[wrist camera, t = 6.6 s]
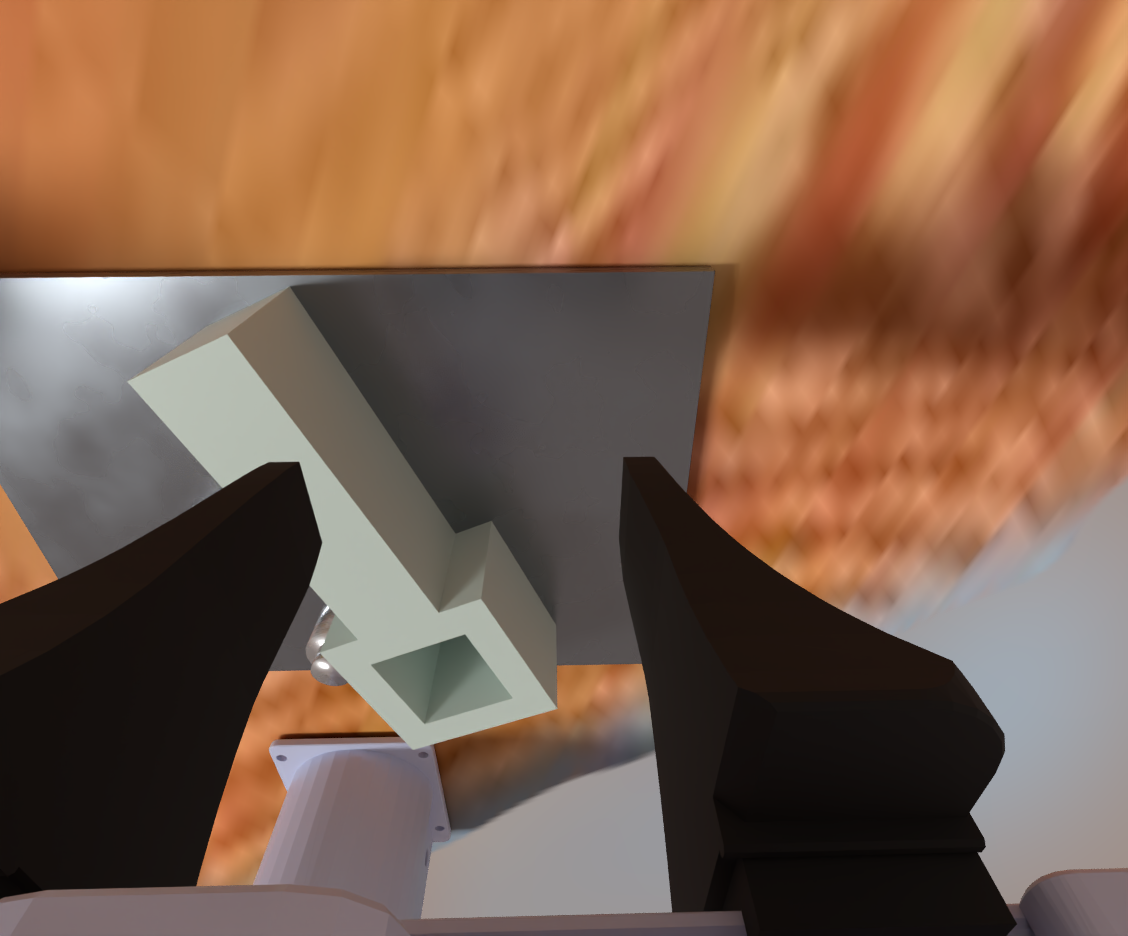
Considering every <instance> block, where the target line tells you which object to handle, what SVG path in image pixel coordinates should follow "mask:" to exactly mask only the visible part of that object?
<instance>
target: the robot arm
mask: <svg viewBox="0 0 1128 936" xmlns="http://www.w3.org/2000/svg"><path fill="white" fill-rule="evenodd" d="M321 546H322V539H321V536H320V532H319V529H318V525H317V522H316V518H315V515H314V511H313V508H312V504H311V501H310V497H309V494H308V490H307V487H306V483H305V480H304V476H303V472H302V469H301V465H300V462H268V463H266V464H264V465H262V466H259V467H258V468H256V469H254V470H252V471H250V472H249V473H247V474H245V475H243V476H242V477H240V478H238V479H237V480H235V481H234V482H232V483H230V484H229V485H227V486H225V487H224V488H222V489H221V490H219V491H217V492H216V493H214V494H213V495H211V496H209V497H208V498H206V499H204V500H203V501H201V502H200V503H198V504H196V505H195V506H193V507H191V508H190V509H188V510H187V511H185V512H183V513H182V514H180V515H178V516H177V517H175V518H173V519H172V520H170V521H168V522H166V523H165V524H163V525H161V526H159V527H158V528H156V529H154V530H152V531H151V532H149V533H147V534H145V535H144V536H142V537H140V538H138V539H137V540H135V541H133V542H132V543H130V544H128V545H126V546H124V547H123V548H121V549H119V550H117V551H115V552H113V553H111V554H109V555H107V556H105V557H103V558H102V559H100V560H98V561H96V562H94V563H92V564H89V565H87V566H85V567H83V568H81V569H79V570H77V571H75V572H73V573H71V574H69V575H67V576H64V577H62V578H60V579H58V580H56V581H54V582H51V583H49V584H47V585H45V586H42V587H40V588H37V589H35V590H32V591H30V592H28V593H25V594H23V595H20V596H18V597H16V598H13V599H11V600H8V601H6V602H4V603H1V604H0V936H1128V868H1120V869H1080V870H1064V871H1057V872H1053V873H1050V874H1048V875H1045V876H1042V877H1040V878H1039V879H1038V880H1036V881H1034V882H1033V883H1032V884H1031V885H1030V886H1029V887H1028V888H1027V890H1026V891H1025V893H1024V895H1023V896H1022V898H1021V901H1020V904H1006V903H1005V901H1004V899H1003V898H1002V896H1001V894H1000V892H999V891H998V889H997V887H996V885H995V883H994V881H993V880H992V878H991V876H990V874H989V872H988V871H987V869H986V867H985V865H984V864H983V862H982V860H981V858H980V856H979V855H978V853H977V852H982V851H983V850H984V848H985V847H986V846H985V840H984V837H983V835H982V834H981V832H980V830H979V829H978V827H977V825H976V823H975V822H974V820H973V818H972V816H971V815H970V813H969V812H970V811H971V809H972V808H973V806H974V805H975V803H976V802H977V800H978V799H979V797H980V796H981V794H982V793H983V791H984V790H985V788H986V787H987V785H988V784H989V782H990V781H991V779H992V778H993V776H994V775H995V773H996V771H997V769H998V766H999V764H1000V762H1001V759H1002V757H1003V755H1004V752H1005V738H1004V733H1003V732H1002V730H1001V728H1000V727H999V726H998V724H997V722H996V720H995V719H994V718H993V716H992V715H991V713H990V712H989V710H988V709H987V707H986V706H985V704H984V703H983V702H982V700H981V698H980V697H979V695H978V694H977V692H976V691H975V690H974V688H973V687H972V686H971V684H970V683H969V682H968V680H967V679H966V678H965V676H964V675H963V674H962V672H961V671H960V670H959V669H958V668H957V666H956V665H955V664H954V663H953V661H951V660H949V659H946V658H944V657H942V656H939V655H937V654H935V653H933V652H930V651H928V650H925V649H923V648H921V647H918V646H916V645H914V644H911V643H909V642H907V641H904V640H902V639H900V638H897V637H895V636H892V635H890V634H888V633H886V632H883V631H881V630H879V629H877V628H875V627H873V626H871V625H869V624H867V623H865V622H863V621H861V620H859V619H857V618H855V617H853V616H851V615H849V614H847V613H845V612H843V611H842V610H840V609H838V608H836V607H834V606H832V605H831V604H829V603H827V602H825V601H823V600H822V599H820V598H818V597H817V596H815V595H813V594H812V593H810V592H808V591H807V590H805V589H804V588H802V587H800V586H799V585H797V584H795V583H794V582H792V581H790V580H789V579H787V578H786V577H784V576H783V575H781V574H780V573H778V572H777V571H775V570H774V569H773V568H771V567H770V566H769V565H767V564H766V563H765V562H763V561H762V560H760V559H759V558H758V557H756V556H755V555H754V554H752V553H751V552H750V551H748V550H747V549H746V548H745V547H743V546H742V545H741V544H740V543H738V542H737V541H736V540H735V539H734V538H732V537H731V536H730V535H729V534H728V533H727V532H726V531H725V530H723V529H722V528H721V527H720V526H719V525H718V524H717V523H716V522H715V521H713V520H712V519H711V518H710V517H709V516H708V515H707V514H706V513H705V512H704V511H703V510H702V509H701V508H700V507H699V505H698V504H697V503H696V502H695V501H694V500H693V499H692V498H691V497H690V496H689V495H688V494H687V493H686V492H685V491H684V490H683V488H682V487H681V486H680V485H679V484H678V483H677V482H676V481H675V480H674V478H673V477H672V476H671V475H670V474H669V473H668V471H667V470H666V469H665V468H664V467H663V466H662V464H661V463H660V462H659V461H658V460H657V459H656V458H655V457H623V472H622V489H621V507H620V525H619V546H620V556H621V566H622V576H623V583H624V587H625V592H626V596H627V601H628V605H629V609H630V614H631V618H632V622H633V627H634V631H635V635H636V640H637V644H638V648H639V653H640V657H641V661H642V666H643V670H644V674H645V680H646V685H647V690H648V696H649V703H650V711H651V719H652V727H653V735H654V743H655V752H656V759H657V768H658V776H659V786H660V794H661V804H662V814H663V823H664V832H665V842H666V852H667V861H668V872H669V881H670V892H671V903H672V913H635V914H596V915H558V916H518V917H478V918H439V919H421V913H422V906H423V900H424V893H425V887H426V880H427V874H428V867H429V861H430V855H431V848H432V842H445V841H448V840H449V839H450V836H451V828H450V823H449V818H448V813H447V808H446V803H445V798H444V793H443V788H442V783H441V778H440V773H439V769H438V764H437V759H436V754H435V749H434V744H432V745H429V746H425V747H422V748H418V749H415V750H413V749H412V748H411V747H410V746H409V745H408V744H407V743H406V742H405V741H404V740H403V739H402V738H401V737H365V738H318V739H278V740H275V741H273V742H272V743H271V746H270V748H269V752H270V754H271V757H272V759H273V761H274V763H275V765H276V768H277V770H278V772H279V774H280V776H281V779H282V781H283V783H284V785H285V788H286V790H287V795H286V797H285V800H284V803H283V805H282V808H281V811H280V814H279V816H278V819H277V822H276V824H275V827H274V830H273V832H272V835H271V838H270V840H269V843H268V846H267V848H266V851H265V854H264V857H263V859H262V862H261V865H260V867H259V870H258V873H257V875H256V878H255V881H254V883H253V885H234V886H196V885H197V881H198V877H199V873H200V869H201V866H202V862H203V859H204V856H205V852H206V849H207V845H208V842H209V838H210V835H211V831H212V828H213V824H214V821H215V818H216V814H217V811H218V807H219V804H220V801H221V798H222V795H223V792H224V789H225V786H226V783H227V779H228V776H229V773H230V770H231V767H232V764H233V761H234V758H235V755H236V752H237V749H238V746H239V743H240V741H241V738H242V735H243V732H244V729H245V727H246V724H247V721H248V718H249V715H250V713H251V710H252V707H253V704H254V702H255V700H256V697H257V695H258V693H259V691H260V688H261V686H262V684H263V681H264V679H265V677H266V675H267V673H268V671H269V669H270V667H271V665H272V663H273V661H274V659H275V657H276V655H277V653H278V651H279V649H280V647H281V644H282V642H283V640H284V638H285V636H286V634H287V632H288V630H289V628H290V626H291V624H292V622H293V620H294V618H295V616H296V614H297V611H298V609H299V607H300V605H301V603H302V601H303V599H304V597H305V594H306V592H307V590H308V588H309V585H310V582H311V579H312V576H313V573H314V570H315V567H316V564H317V560H318V557H319V553H320V550H321Z"/></svg>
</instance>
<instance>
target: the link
mask: <svg viewBox="0 0 1128 936" xmlns="http://www.w3.org/2000/svg"><path fill="white" fill-rule="evenodd" d="M127 382H128V383H129V384H130V385H131V386H132V388H133V389H134V390H135V391H136V392H137V393H138V394H139V395H140V396H141V398H142V399H143V400H144V401H145V402H146V403H147V404H148V405H149V407H150V408H151V409H152V410H153V411H154V412H155V413H156V414H157V416H158V417H159V418H160V419H161V420H162V421H163V422H164V423H165V424H166V426H167V427H168V428H169V429H170V430H171V431H172V432H173V433H174V435H175V436H176V437H177V438H178V439H179V440H180V441H181V442H182V443H183V445H184V446H185V447H186V448H187V449H188V450H189V451H190V452H191V454H192V455H193V456H194V457H195V458H196V459H197V460H198V461H199V462H200V464H201V465H202V466H203V467H204V468H205V469H206V470H207V471H208V473H209V474H210V475H211V476H212V477H213V478H214V479H215V480H216V481H217V483H218V484H219V485H220V486H221V487H222V488H224V487H225V486H227V485H229V484H230V483H232V482H234V481H235V480H237V479H238V478H240V477H242V476H243V475H245V474H247V473H249V472H250V471H252V470H254V469H256V468H258V467H259V466H262V465H264V464H266V463H268V462H300V465H301V469H302V472H303V476H304V480H305V483H306V487H307V490H308V494H309V497H310V501H311V504H312V508H313V511H314V515H315V518H316V522H317V525H318V529H319V532H320V536H321V539H322V546H321V550H320V553H319V557H318V560H317V564H316V567H315V570H314V573H313V576H312V579H311V582H310V585H309V586H310V587H311V588H312V589H313V590H314V591H315V592H316V593H317V594H318V596H319V597H320V598H321V599H322V600H323V601H324V602H325V603H326V605H327V606H328V607H329V608H330V609H331V610H332V611H333V612H334V613H335V616H334V618H333V621H332V623H331V626H330V628H329V631H328V633H327V636H326V638H325V641H324V643H323V645H322V648H321V650H320V654H321V655H322V656H323V657H324V658H325V659H326V660H327V661H328V662H329V663H330V664H331V665H332V666H333V667H334V668H335V669H336V670H337V671H338V672H339V674H340V675H341V676H342V677H343V678H344V679H345V680H346V681H347V682H348V683H349V684H350V685H351V686H352V687H353V688H354V689H355V690H356V691H357V692H358V693H359V694H360V695H361V696H362V697H363V698H364V700H365V701H366V702H367V703H368V704H369V705H370V706H371V707H372V708H373V709H374V710H375V711H376V712H377V713H378V714H379V715H380V716H381V717H382V718H383V719H384V720H385V721H386V722H387V723H388V724H389V726H390V727H391V728H392V729H393V730H394V731H395V732H396V733H397V734H398V735H399V736H400V737H401V738H402V739H403V740H404V741H405V742H406V743H407V744H408V745H409V746H410V747H411V748H412V749H413V750H415V749H418V748H422V747H425V746H429V745H432V744H436V743H439V742H443V741H446V740H450V739H453V738H457V737H460V736H464V735H467V734H471V733H474V732H478V731H481V730H485V729H488V728H492V727H495V726H499V725H502V724H506V723H509V722H513V721H516V720H520V719H523V718H527V717H530V716H534V715H537V714H541V713H544V712H548V711H551V710H555V709H557V650H556V624H555V622H554V621H553V619H552V618H551V616H550V614H549V613H548V611H547V610H546V608H545V606H544V605H543V603H542V601H541V600H540V598H539V597H538V595H537V593H536V592H535V590H534V589H533V587H532V585H531V584H530V582H529V580H528V579H527V577H526V576H525V574H524V572H523V571H522V569H521V568H520V566H519V564H518V563H517V561H516V560H515V558H514V556H513V555H512V553H511V551H510V550H509V548H508V547H507V545H506V543H505V542H504V540H503V539H502V537H501V535H500V534H499V532H498V530H497V529H496V527H495V526H494V524H493V522H492V521H490V522H487V523H484V524H481V525H478V526H476V527H473V528H470V529H467V530H465V531H462V532H459V533H456V534H455V532H454V531H453V529H452V528H451V526H450V525H449V523H448V522H447V520H446V519H445V517H444V516H443V514H442V513H441V511H440V510H439V508H438V507H437V505H436V504H435V502H434V501H433V499H432V498H431V496H430V495H429V494H428V492H427V491H426V489H425V488H424V486H423V485H422V483H421V482H420V480H419V479H418V477H417V476H416V474H415V473H414V471H413V470H412V468H411V467H410V465H409V464H408V462H407V461H406V459H405V458H404V456H403V455H402V453H401V452H400V450H399V449H398V447H397V446H396V444H395V443H394V441H393V440H392V438H391V437H390V435H389V434H388V432H387V431H386V429H385V428H384V426H383V425H382V423H381V422H380V420H379V419H378V417H377V416H376V414H375V413H374V412H373V410H372V409H371V407H370V406H369V404H368V403H367V401H366V400H365V398H364V397H363V395H362V394H361V392H360V391H359V389H358V388H357V386H356V385H355V383H354V382H353V380H352V379H351V377H350V376H349V374H348V373H347V371H346V370H345V368H344V367H343V365H342V364H341V362H340V361H339V359H338V358H337V356H336V355H335V353H334V352H333V350H332V349H331V347H330V346H329V344H328V343H327V341H326V340H325V338H324V337H323V335H322V334H321V332H320V331H319V330H318V328H317V327H316V325H315V324H314V322H313V321H312V319H311V318H310V316H309V315H308V313H307V312H306V310H305V309H304V307H303V306H302V304H301V303H300V301H299V300H298V298H297V297H296V295H295V294H294V292H293V291H292V289H291V288H290V286H289V287H287V288H285V289H283V290H281V291H279V292H277V293H275V294H273V295H271V296H269V297H266V298H264V299H262V300H260V301H258V302H256V303H254V304H252V305H250V306H248V307H246V308H244V309H241V310H239V311H237V312H235V313H233V314H231V315H229V316H227V317H225V318H223V319H221V320H219V321H217V322H214V323H212V324H210V325H208V326H206V327H205V328H203V329H202V330H200V331H199V332H198V333H196V334H195V335H193V336H192V337H190V338H189V339H187V340H186V341H185V342H183V343H182V344H180V345H179V346H177V347H176V348H175V349H173V350H172V351H170V352H169V353H167V354H166V355H164V356H163V357H162V358H160V359H159V360H157V361H156V362H154V363H153V364H152V365H150V366H149V367H147V368H146V369H144V370H143V371H141V372H140V373H139V374H137V375H136V376H134V377H133V378H131V379H130V380H129V381H127Z"/></svg>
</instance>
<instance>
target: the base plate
mask: <svg viewBox="0 0 1128 936" xmlns="http://www.w3.org/2000/svg"><path fill="white" fill-rule="evenodd" d="M714 275H715V271H714V270H713V269H712V267H711V266H666V267H563V268H460V269H357V270H254V271H151V272H48V273H0V484H1V486H2V488H3V489H4V491H5V493H6V494H7V496H8V497H9V499H10V501H11V502H12V504H13V506H14V507H15V509H16V510H17V512H18V514H19V515H20V517H21V519H22V520H23V522H24V524H25V525H26V527H27V528H28V530H29V532H30V533H31V535H32V537H33V538H34V540H35V542H36V543H37V545H38V546H39V548H40V550H41V551H42V553H43V555H44V556H45V558H46V559H47V561H48V563H49V564H50V566H51V568H52V569H53V571H54V573H55V574H56V576H57V577H58V579H60V578H62V577H64V576H67V575H69V574H71V573H73V572H75V571H77V570H79V569H81V568H83V567H85V566H87V565H89V564H92V563H94V562H96V561H98V560H100V559H102V558H103V557H105V556H107V555H109V554H111V553H113V552H115V551H117V550H119V549H121V548H123V547H124V546H126V545H128V544H130V543H132V542H133V541H135V540H137V539H138V538H140V537H142V536H144V535H145V534H147V533H149V532H151V531H152V530H154V529H156V528H158V527H159V526H161V525H163V524H165V523H166V522H168V521H170V520H172V519H173V518H175V517H177V516H178V515H180V514H182V513H183V512H185V511H187V510H188V509H190V508H191V507H193V506H195V505H196V504H198V503H200V502H201V501H203V500H204V499H206V498H208V497H209V496H211V495H213V494H214V493H216V492H217V491H219V490H221V489H222V487H221V486H220V485H219V484H218V483H217V481H216V480H215V479H214V478H213V477H212V476H211V475H210V474H209V473H208V471H207V470H206V469H205V468H204V467H203V466H202V465H201V464H200V462H199V461H198V460H197V459H196V458H195V457H194V456H193V455H192V454H191V452H190V451H189V450H188V449H187V448H186V447H185V446H184V445H183V443H182V442H181V441H180V440H179V439H178V438H177V437H176V436H175V435H174V433H173V432H172V431H171V430H170V429H169V428H168V427H167V426H166V424H165V423H164V422H163V421H162V420H161V419H160V418H159V417H158V416H157V414H156V413H155V412H154V411H153V410H152V409H151V408H150V407H149V405H148V404H147V403H146V402H145V401H144V400H143V399H142V398H141V396H140V395H139V394H138V393H137V392H136V391H135V390H134V389H133V388H132V386H131V385H130V384H129V383H128V382H127V381H129V380H130V379H131V378H133V377H134V376H136V375H137V374H139V373H140V372H141V371H143V370H144V369H146V368H147V367H149V366H150V365H152V364H153V363H154V362H156V361H157V360H159V359H160V358H162V357H163V356H164V355H166V354H167V353H169V352H170V351H172V350H173V349H175V348H176V347H177V346H179V345H180V344H182V343H183V342H185V341H186V340H187V339H189V338H190V337H192V336H193V335H195V334H196V333H198V332H199V331H200V330H202V329H203V328H205V327H206V326H208V325H210V324H212V323H214V322H217V321H219V320H221V319H223V318H225V317H227V316H229V315H231V314H233V313H235V312H237V311H239V310H241V309H244V308H246V307H248V306H250V305H252V304H254V303H256V302H258V301H260V300H262V299H264V298H266V297H269V296H271V295H273V294H275V293H277V292H279V291H281V290H283V289H285V288H287V287H289V286H290V288H291V289H292V291H293V292H294V294H295V295H296V297H297V298H298V300H299V301H300V303H301V304H302V306H303V307H304V309H305V310H306V312H307V313H308V315H309V316H310V318H311V319H312V321H313V322H314V324H315V325H316V327H317V328H318V330H319V331H320V332H321V334H322V335H323V337H324V338H325V340H326V341H327V343H328V344H329V346H330V347H331V349H332V350H333V352H334V353H335V355H336V356H337V358H338V359H339V361H340V362H341V364H342V365H343V367H344V368H345V370H346V371H347V373H348V374H349V376H350V377H351V379H352V380H353V382H354V383H355V385H356V386H357V388H358V389H359V391H360V392H361V394H362V395H363V397H364V398H365V400H366V401H367V403H368V404H369V406H370V407H371V409H372V410H373V412H374V413H375V414H376V416H377V417H378V419H379V420H380V422H381V423H382V425H383V426H384V428H385V429H386V431H387V432H388V434H389V435H390V437H391V438H392V440H393V441H394V443H395V444H396V446H397V447H398V449H399V450H400V452H401V453H402V455H403V456H404V458H405V459H406V461H407V462H408V464H409V465H410V467H411V468H412V470H413V471H414V473H415V474H416V476H417V477H418V479H419V480H420V482H421V483H422V485H423V486H424V488H425V489H426V491H427V492H428V494H429V495H430V496H431V498H432V499H433V501H434V502H435V504H436V505H437V507H438V508H439V510H440V511H441V513H442V514H443V516H444V517H445V519H446V520H447V522H448V523H449V525H450V526H451V528H452V529H453V531H454V532H455V534H456V533H459V532H462V531H465V530H467V529H470V528H473V527H476V526H478V525H481V524H484V523H487V522H490V521H492V522H493V524H494V526H495V527H496V529H497V530H498V532H499V534H500V535H501V537H502V539H503V540H504V542H505V543H506V545H507V547H508V548H509V550H510V551H511V553H512V555H513V556H514V558H515V560H516V561H517V563H518V564H519V566H520V568H521V569H522V571H523V572H524V574H525V576H526V577H527V579H528V580H529V582H530V584H531V585H532V587H533V589H534V590H535V592H536V593H537V595H538V597H539V598H540V600H541V601H542V603H543V605H544V606H545V608H546V610H547V611H548V613H549V614H550V616H551V618H552V619H553V621H554V622H555V624H556V650H557V665H599V664H642V661H641V657H640V653H639V648H638V644H637V640H636V635H635V631H634V627H633V622H632V618H631V614H630V609H629V605H628V601H627V596H626V592H625V587H624V583H623V576H622V566H621V556H620V546H619V525H620V507H621V489H622V472H623V457H655V458H656V459H657V460H658V461H659V462H660V463H661V464H662V466H663V467H664V468H665V469H666V470H667V471H668V473H669V474H670V475H671V476H672V477H673V478H674V480H675V481H676V482H677V483H678V484H679V485H680V486H681V487H682V488H683V490H684V491H685V492H686V493H687V486H688V478H689V470H690V462H691V454H692V447H693V439H694V431H695V423H696V415H697V407H698V400H699V392H700V384H701V376H702V368H703V361H704V353H705V345H706V337H707V329H708V321H709V314H710V306H711V298H712V290H713V282H714ZM324 604H325V602H324V601H323V600H322V599H321V598H320V597H319V596H318V594H317V593H316V592H315V591H314V590H313V589H312V588H311V587H310V586H309V588H308V590H307V592H306V594H305V597H304V599H303V601H302V603H301V605H300V607H299V609H298V611H297V614H296V616H295V618H294V620H293V622H292V624H291V626H290V628H289V630H288V632H287V634H286V636H285V638H284V640H283V642H282V644H281V647H280V649H279V651H278V653H277V655H276V657H275V659H274V661H273V663H272V665H271V667H270V669H269V671H291V670H311V666H312V664H311V663H310V661H309V660H308V658H307V656H306V651H305V650H306V646H307V643H308V641H309V639H310V636H311V634H312V632H313V629H314V627H315V625H316V623H317V620H318V618H319V616H320V613H321V611H322V609H323V606H324Z"/></svg>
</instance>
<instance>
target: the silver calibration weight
mask: <svg viewBox="0 0 1128 936" xmlns="http://www.w3.org/2000/svg"><path fill="white" fill-rule="evenodd" d="M334 616H335V613H334V612H333V611H332V610H331V609H330V608H329V607H328V606H327V605H326V603H325V604H324V606H323V609H322V611H321V613H320V616H319V618H318V620H317V623H316V625H315V627H314V629H313V632H312V634H311V636H310V639H309V641H308V643H307V646H306V650H305V651H306V656H307V658H308V660H309V661H310V663H311V664H312V666H311V674H312V675H313V677H314V678H315V679H316V680H318V681H319V682H321V683H323V684H326V685H331V686H340V685H344V684H346V683H348V682H347V681H346V680H345V679H344V678H343V677H342V676H341V675H340V674H339V672H338V671H337V670H336V669H335V668H334V667H333V666H332V665H331V664H330V663H329V662H328V661H327V660H326V659H325V658H324V657H323V656H322V655H321V654H320V650H321V648H322V645H323V643H324V641H325V638H326V636H327V633H328V631H329V628H330V626H331V623H332V621H333V618H334Z"/></svg>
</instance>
